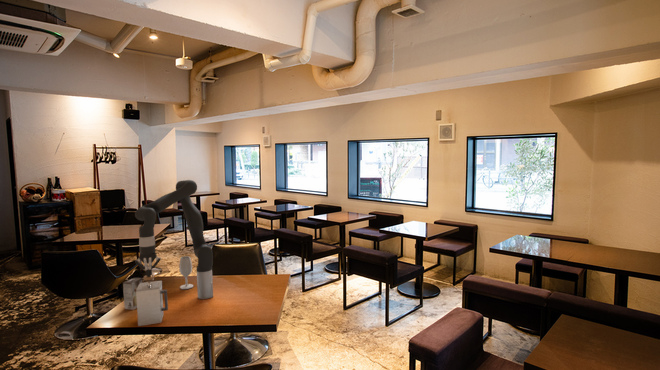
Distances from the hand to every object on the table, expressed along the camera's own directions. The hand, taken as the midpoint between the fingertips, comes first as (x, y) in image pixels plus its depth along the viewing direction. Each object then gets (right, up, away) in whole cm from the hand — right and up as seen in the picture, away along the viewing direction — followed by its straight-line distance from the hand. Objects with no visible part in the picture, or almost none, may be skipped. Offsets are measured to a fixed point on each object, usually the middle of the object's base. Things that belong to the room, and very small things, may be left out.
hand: (148, 276), depth 191 cm
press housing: (+2, -24, +2) cm, 25 cm away
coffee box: (-19, -24, +20) cm, 36 cm away
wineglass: (0, -21, +50) cm, 55 cm away
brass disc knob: (0, -20, +1) cm, 20 cm away
